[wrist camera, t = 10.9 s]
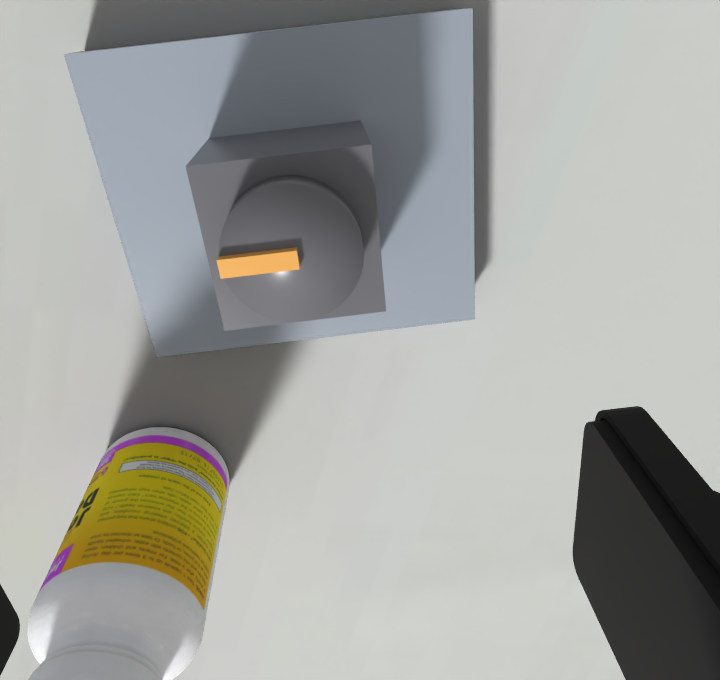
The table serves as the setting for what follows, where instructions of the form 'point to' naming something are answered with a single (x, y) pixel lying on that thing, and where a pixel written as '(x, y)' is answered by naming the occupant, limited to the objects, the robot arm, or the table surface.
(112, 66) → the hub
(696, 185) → the table surface
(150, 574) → the supplement bottle
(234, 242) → the knob
